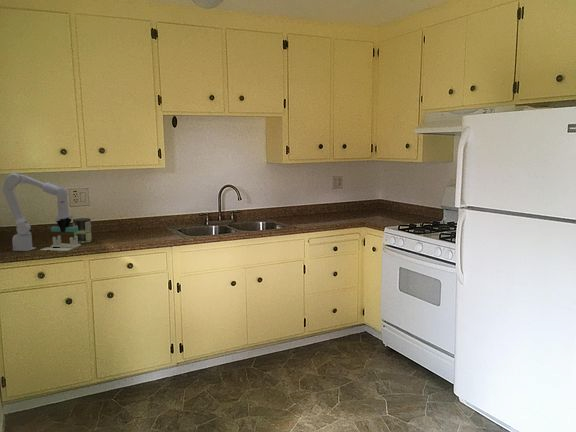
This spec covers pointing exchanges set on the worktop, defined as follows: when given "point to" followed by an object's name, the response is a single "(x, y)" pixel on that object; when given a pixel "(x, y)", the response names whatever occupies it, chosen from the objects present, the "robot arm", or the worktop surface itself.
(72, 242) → the stand
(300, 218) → the worktop surface
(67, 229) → the rail
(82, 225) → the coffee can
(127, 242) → the worktop surface
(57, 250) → the mat
